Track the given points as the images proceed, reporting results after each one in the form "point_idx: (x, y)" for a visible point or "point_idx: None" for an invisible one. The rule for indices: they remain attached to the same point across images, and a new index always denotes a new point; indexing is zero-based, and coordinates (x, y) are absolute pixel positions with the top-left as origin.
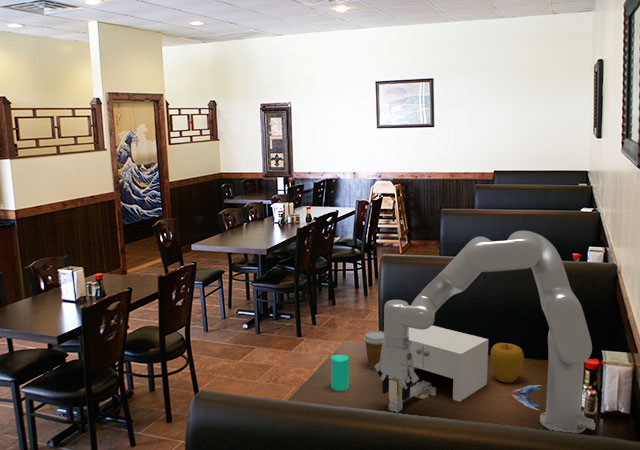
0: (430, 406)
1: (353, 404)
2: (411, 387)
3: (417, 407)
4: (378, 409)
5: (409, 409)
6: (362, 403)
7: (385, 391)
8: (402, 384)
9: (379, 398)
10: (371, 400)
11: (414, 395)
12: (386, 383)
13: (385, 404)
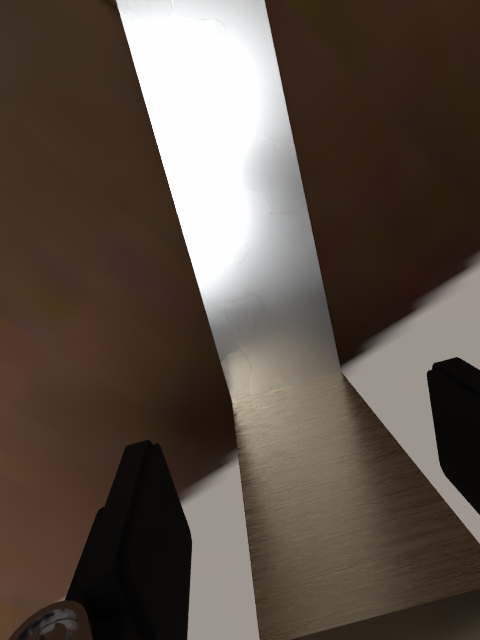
0: (428, 48)
1: (12, 596)
2: (133, 23)
3: (361, 184)
4: (191, 490)
5: (345, 277)
6: (29, 536)
7: (186, 541)
8: (434, 493)
9: (8, 368)
10: (12, 449)
11: None
12: (170, 624)
13: (145, 394)
